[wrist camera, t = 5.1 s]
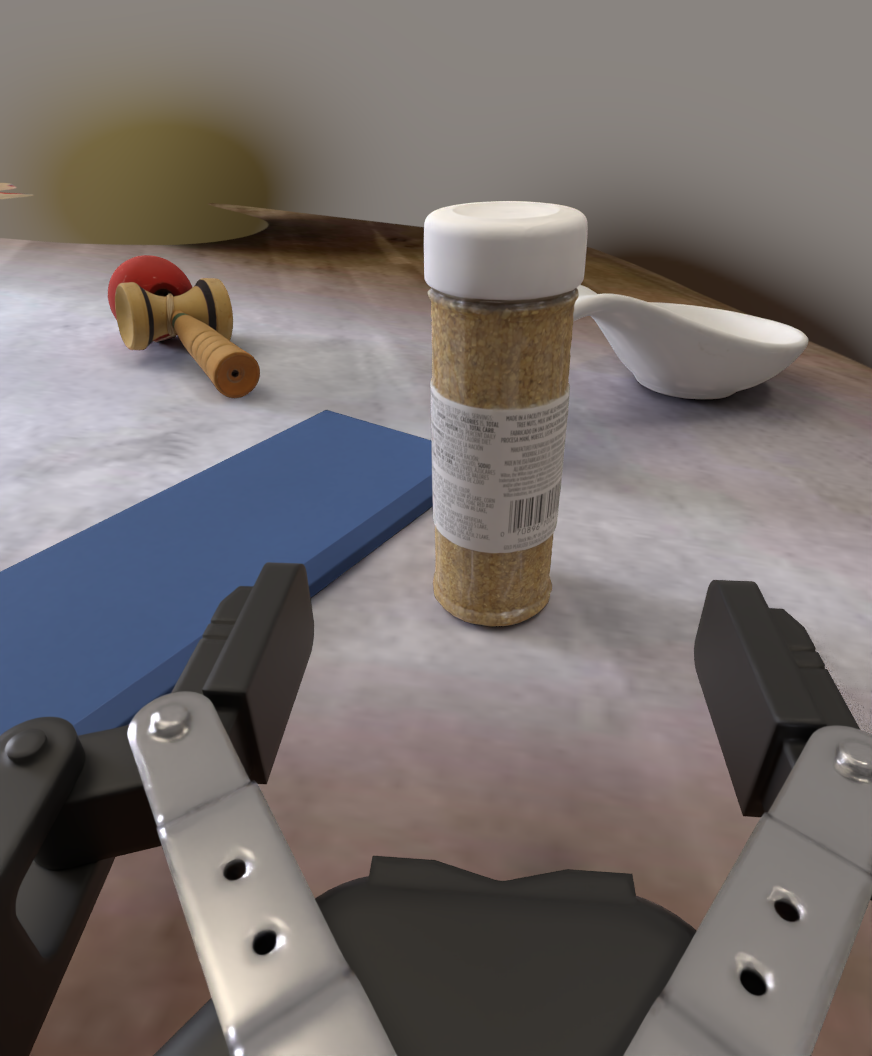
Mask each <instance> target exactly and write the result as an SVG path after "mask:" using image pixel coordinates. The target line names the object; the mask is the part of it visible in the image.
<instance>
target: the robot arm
mask: <svg viewBox="0 0 872 1056" xmlns="http://www.w3.org/2000/svg"><path fill="white" fill-rule="evenodd" d="M313 639H314V620H313V613H312V606H311V599H310V592H309V585H308V578H307V572H306V568H305V566H304V564H300V563H273V562H267V563H265V565H264V566H263V568H262V570H261V572H260V574H259V576H258V578H257V580H256V582H255V584H254V586H239V587H237V588H236V589H235V590H234V591H233V592H231V593H230V594H229V595H228V596H227V597H226V598H224V599H223V600H222V601H221V602H220V604H219V605H218V607H217V609H216V611H215V613H214V615H213V617H212V618H211V623H210V624H208V626H207V628H206V629H205V631H204V633H203V637H202V639H200V640H199V642H198V644H197V646H196V648H195V650H194V652H193V653H192V655H191V657H190V659H189V661H188V663H187V664H186V666H185V668H184V670H183V672H182V674H181V675H180V677H179V679H178V681H177V683H176V685H175V686H174V688H173V690H172V692H171V693H170V694H167V695H164V696H161V697H159V698H157V699H155V700H153V701H151V702H150V703H148V704H147V705H145V706H144V707H143V708H142V709H141V710H140V711H139V712H138V713H137V714H136V715H135V716H134V718H133V719H132V721H131V723H130V724H129V725H126V726H122V727H118V728H113V729H108V730H103V731H98V732H93V733H88V734H84V735H79V736H78V735H77V733H76V730H75V728H74V727H73V725H72V724H71V723H70V722H69V721H67V720H65V719H63V718H59V717H40V718H35V719H31V720H28V721H25V722H23V723H20V724H18V725H16V726H14V727H12V728H10V729H9V730H7V731H6V732H4V733H3V734H2V735H0V1056H29V1054H30V1052H31V1050H32V1047H33V1045H34V1043H35V1041H36V1038H37V1036H38V1034H39V1031H40V1029H41V1027H42V1024H43V1022H44V1020H45V1018H46V1015H47V1013H48V1011H49V1008H50V1006H51V1004H52V1002H53V999H54V997H55V995H56V992H57V990H58V988H59V985H60V983H61V981H62V979H63V976H64V974H65V972H66V969H67V967H68V965H69V962H70V960H71V958H72V956H73V953H74V951H75V949H76V946H77V944H78V942H79V940H80V937H81V935H82V933H83V930H84V928H85V926H86V923H87V921H88V919H89V917H90V914H91V912H92V910H93V907H94V905H95V903H96V900H97V898H98V896H99V894H100V891H101V889H102V887H103V884H104V882H105V880H106V878H107V875H108V873H109V871H110V868H111V866H112V864H113V861H114V859H115V857H116V856H120V855H125V854H129V853H133V852H137V851H141V850H145V849H150V848H154V847H158V846H162V847H163V850H164V853H165V856H166V860H167V863H168V866H169V869H170V872H171V875H172V878H173V881H174V884H175V887H176V890H177V893H178V896H179V899H180V902H181V905H182V908H183V911H184V914H185V917H186V920H187V924H188V927H189V930H190V933H191V936H192V939H193V942H194V945H195V948H196V951H197V954H198V957H199V960H200V963H201V966H202V969H203V972H204V975H205V978H206V981H207V984H208V987H209V991H210V994H211V997H212V998H211V999H210V1000H209V1001H208V1002H207V1003H206V1004H205V1005H204V1006H203V1007H202V1008H201V1009H200V1010H199V1011H198V1012H197V1013H196V1014H195V1015H194V1016H193V1017H192V1018H191V1019H190V1020H189V1021H188V1022H187V1023H186V1024H185V1025H184V1026H183V1027H181V1028H180V1029H179V1030H178V1031H177V1032H176V1033H175V1034H174V1035H173V1036H172V1037H171V1038H170V1039H169V1040H168V1041H167V1042H166V1043H165V1044H164V1045H163V1046H162V1047H161V1048H160V1049H159V1050H158V1051H157V1052H156V1053H155V1054H154V1055H153V1056H812V1055H811V1054H812V1051H813V1049H814V1046H815V1044H816V1041H817V1038H818V1036H819V1033H820V1030H821V1028H822V1025H823V1022H824V1020H825V1017H826V1014H827V1012H828V1009H829V1006H830V1004H831V1001H832V999H833V996H834V993H835V991H836V988H837V985H838V983H839V980H840V977H841V975H842V972H843V969H844V967H845V964H846V962H847V959H848V956H849V954H850V951H851V948H852V946H853V943H854V940H855V938H856V935H857V932H858V930H859V927H860V924H861V922H862V919H863V917H864V914H865V911H866V909H867V906H868V903H869V901H870V900H872V735H871V734H869V733H867V732H864V731H862V730H860V728H859V727H858V725H857V723H856V721H855V719H854V717H853V716H852V714H851V712H850V710H849V708H848V707H847V705H846V703H845V701H844V699H843V697H842V696H841V694H840V692H839V690H838V688H837V686H836V685H835V683H834V681H833V679H832V677H831V675H830V674H829V672H828V670H827V669H825V664H824V663H823V661H822V659H821V657H820V655H819V653H818V652H816V651H815V646H814V644H813V642H812V641H811V639H810V637H809V635H808V633H807V631H806V630H805V628H804V627H803V626H802V625H801V624H800V623H799V622H798V621H796V620H795V619H794V618H793V617H792V616H791V615H790V614H788V613H787V612H786V611H785V610H784V609H775V608H769V607H768V605H767V603H766V601H765V599H764V597H763V595H762V593H761V591H760V589H759V587H758V586H757V584H756V583H755V582H752V581H726V580H713V581H712V582H711V583H710V585H709V587H708V591H707V595H706V599H705V603H704V607H703V611H702V615H701V619H700V623H699V627H698V631H697V635H696V639H695V645H694V661H695V668H696V672H697V675H698V678H699V681H700V684H701V688H702V691H703V694H704V697H705V700H706V703H707V706H708V709H709V712H710V715H711V718H712V722H713V725H714V728H715V731H716V734H717V737H718V740H719V743H720V746H721V749H722V752H723V756H724V759H725V762H726V765H727V768H728V771H729V774H730V777H731V780H732V783H733V786H734V790H735V793H736V796H737V799H738V802H739V805H740V808H741V811H742V814H743V816H750V817H761V819H760V820H759V822H758V824H757V825H756V827H755V829H754V831H753V832H752V834H751V836H750V838H749V840H748V841H747V843H746V845H745V847H744V848H743V850H742V852H741V854H740V856H739V857H738V859H737V861H736V863H735V864H734V866H733V868H732V870H731V871H730V873H729V875H728V877H727V879H726V880H725V882H724V884H723V886H722V887H721V889H720V891H719V893H718V894H717V896H716V898H715V900H714V902H713V903H712V905H711V907H710V909H709V910H708V912H707V914H706V916H705V918H704V919H703V921H702V923H701V925H700V926H699V928H698V930H697V931H696V930H695V929H694V928H693V927H692V926H691V925H689V924H688V923H686V922H685V921H684V920H682V919H681V918H680V917H678V916H677V915H675V914H674V913H672V912H670V911H668V910H667V909H665V908H663V907H662V906H660V905H657V904H655V903H653V902H651V901H649V900H647V899H644V898H641V897H638V896H636V894H635V888H634V882H633V875H632V874H626V873H612V872H597V871H583V870H569V869H567V870H561V871H556V872H550V873H545V874H540V875H534V876H529V877H524V878H518V879H513V880H508V881H498V880H493V879H490V878H487V877H484V876H481V875H478V874H475V873H472V872H469V871H466V870H463V869H460V868H457V867H454V866H451V865H448V864H445V863H442V862H439V861H436V860H425V859H411V858H397V857H382V856H373V857H372V863H371V869H370V874H369V876H368V877H363V878H358V879H355V880H352V881H349V882H346V883H343V884H341V885H339V886H337V887H335V888H332V889H330V890H328V891H327V892H325V893H323V894H322V895H320V896H318V897H317V898H314V896H313V894H312V892H311V890H310V888H309V886H308V884H307V882H306V880H305V878H304V876H303V874H302V872H301V870H300V868H299V866H298V864H297V862H296V860H295V858H294V856H293V854H292V852H291V850H290V848H289V846H288V844H287V842H286V840H285V838H284V836H283V834H282V832H281V830H280V828H279V826H278V824H277V822H276V820H275V818H274V816H273V814H272V812H271V810H270V808H269V806H268V804H267V802H266V800H265V798H264V796H263V794H262V792H261V790H260V788H259V786H258V784H267V781H268V778H269V775H270V773H271V770H272V767H273V764H274V761H275V758H276V755H277V752H278V749H279V746H280V743H281V740H282V737H283V734H284V731H285V728H286V725H287V722H288V719H289V716H290V713H291V710H292V707H293V704H294V701H295V698H296V695H297V692H298V690H299V687H300V684H301V681H302V678H303V675H304V672H305V669H306V666H307V663H308V660H309V657H310V654H311V651H312V646H313Z"/></svg>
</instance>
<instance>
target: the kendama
mask: <svg viewBox="0 0 872 1056" xmlns="http://www.w3.org/2000/svg"><path fill="white" fill-rule="evenodd" d="M108 300H109V305H110V308H111V311H112V313H113V315H114V316H115V318H116V320H117V323H118V327H119V331H120V334H121V337H122V340H123V342H124V344H125V345H126V346H127V347H128V348H129V349H130V350H144V349H146V348H147V347H148V345H149V344H151V343H152V341H154V342H159V341H161V340H167V339H170V338H175V337H176V336H177V335H178V337H179V339H180V340H181V342H182V343H183V345H184V347H185V348H186V349H187V351H188V352H189V353H190V355H191V356H192V357H193V358H194V359H195V361H196V362H197V363H198V364H199V366H200V367H201V368H202V369H203V371H204V372H205V373H206V375H207V376H208V377H209V378H210V380H211V381H212V383H213V384H214V386H215V387H216V389H217V390H218V391H219V392H220V393H222V394H223V395H225V396H227V397H230V398H239V397H243V396H245V395H247V394H248V393H250V392H251V391H252V390H253V389H254V388H255V386H256V385H257V383H258V380H259V377H260V369H259V365H258V363H257V361H256V360H255V359H254V357H253V356H252V355H250V354H249V353H247V352H246V351H244V350H242V349H241V348H239V347H238V346H236V345H235V344H233V343H232V342H231V341H230V339H231V335H232V329H233V313H232V307H231V302H230V298H229V295H228V292H227V290H226V288H225V286H224V285H223V283H222V282H221V281H220V280H219V279H213V278H203V279H200V280H199V281H197V283H196V285H195V286H194V287H193V288H192V285H191V283H190V281H189V280H188V278H187V277H186V275H185V274H184V273H183V272H182V271H181V270H180V269H179V268H178V267H177V266H176V265H174V264H173V263H171V262H170V261H168V260H166V259H163V258H160V257H156V256H147V255H144V256H138V257H134V258H131V259H129V260H127V261H125V262H124V263H122V264H121V265H120V266H119V267H118V268H117V269H116V270H115V272H114V273H113V275H112V277H111V279H110V282H109V287H108Z"/></svg>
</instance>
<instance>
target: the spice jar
mask: <svg viewBox="0 0 872 1056" xmlns="http://www.w3.org/2000/svg"><path fill="white" fill-rule="evenodd" d="M587 227H588V223H587V219H586V217H585V215H584V214H583V213H582V212H580V211H578V210H576V209H574V208H571V207H567V206H562V205H556V204H549V203H539V202H524V201H494V202H479V203H467V204H460V205H454V206H448V207H444V208H441V209H438V210H435V211H433V212H432V213H430V214H429V215H428V216H427V218H426V220H425V224H424V275H425V281H426V282H427V284H428V285H429V286H431V287H432V288H431V289H430V290H429V291H428V296H429V298H430V300H431V302H432V304H431V317H432V322H431V326H432V379H431V438H432V491H433V520H434V523H435V550H436V561H435V567H436V571H435V573H434V580H433V586H434V595H435V598H436V599H437V601H438V602H439V603H440V604H441V605H442V606H443V608H444V609H445V610H447V611H448V612H449V613H451V614H452V615H453V616H455V617H457V618H459V619H461V620H463V621H465V622H469V623H473V624H480V625H485V626H507V625H513V624H517V623H520V622H522V621H524V620H527V619H528V618H530V617H532V616H534V615H536V614H537V613H539V612H540V611H541V610H542V609H543V608H544V607H545V606H546V604H547V603H548V601H549V597H550V592H551V590H552V583H551V580H550V576H549V573H550V565H551V555H552V541H553V532H554V531H555V528H556V524H557V517H558V508H559V497H560V489H561V479H562V469H563V457H564V447H565V437H566V427H567V416H568V405H569V393H570V385H569V383H568V376H569V365H570V348H571V340H572V326H573V313H574V305H575V302H576V300H577V299H578V296H579V294H578V289H577V287H578V286H579V285H580V284H581V282H582V281H583V278H584V269H585V258H586V246H587Z"/></svg>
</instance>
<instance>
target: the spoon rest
mask: <svg viewBox="0 0 872 1056" xmlns="http://www.w3.org/2000/svg"><path fill="white" fill-rule="evenodd" d="M577 289H578V294H579V296H578V299H577V300H576V302H575V305H574V313H573V321H575V320H577V319H579V318H582V317H585V316H591V317H592V318H593V319H594V320H595V321H596V323H597V324H598V326H599V327H600V329H601V330H602V332H603V334H604V335H605V337H606V338H607V340H608V341H609V343H610V345H611V346H612V348H613V350H614V351H615V353H616V355H617V356H618V357H619V359H620V360H621V361H622V363H623V364H624V365H625V366H626V367H627V368H628V369H629V370H630V371H631V372H632V373H633V374H634V376H635V378H636V380H637V381H638V382H639V383H640V384H641V385H643V386H645V387H646V388H649V389H651V390H653V391H656V392H658V393H662V394H665V395H669V396H674V397H681V398H689V399H718V398H724V397H728V396H730V395H732V394H734V393H735V392H737V391H741V390H744V389H748V388H751V387H753V386H756V385H758V384H761V383H763V382H765V381H767V380H769V379H771V378H772V377H774V376H776V375H777V374H779V373H780V372H781V371H783V370H784V369H786V368H787V367H788V366H789V365H790V364H792V363H793V362H794V361H795V360H796V359H797V358H798V357H799V355H800V354H801V353H802V352H803V351H804V350H805V348H806V346H807V344H808V338H807V336H806V335H805V334H804V333H802V332H801V331H800V330H797V329H795V328H793V327H791V326H788V325H785V324H782V323H779V322H776V321H772V320H768V319H763V318H759V317H755V316H751V315H746V314H742V313H736V312H732V311H725V310H719V309H712V308H706V307H699V306H692V305H683V304H671V303H651V302H645V301H642V300H639V299H635V298H632V297H628V296H623V295H616V294H596V293H595V292H593V291H592V290H590V289H588V288H587V287H584V286H581V285H579V286H578V287H577Z"/></svg>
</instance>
